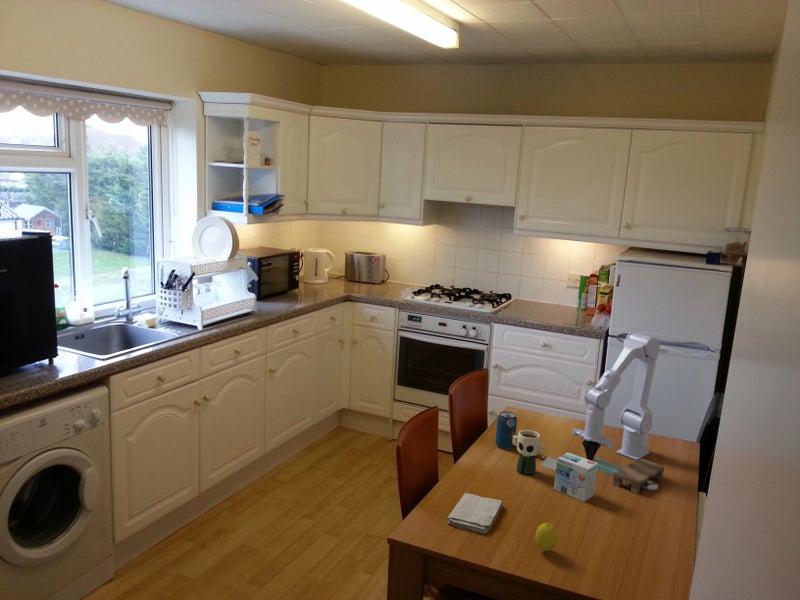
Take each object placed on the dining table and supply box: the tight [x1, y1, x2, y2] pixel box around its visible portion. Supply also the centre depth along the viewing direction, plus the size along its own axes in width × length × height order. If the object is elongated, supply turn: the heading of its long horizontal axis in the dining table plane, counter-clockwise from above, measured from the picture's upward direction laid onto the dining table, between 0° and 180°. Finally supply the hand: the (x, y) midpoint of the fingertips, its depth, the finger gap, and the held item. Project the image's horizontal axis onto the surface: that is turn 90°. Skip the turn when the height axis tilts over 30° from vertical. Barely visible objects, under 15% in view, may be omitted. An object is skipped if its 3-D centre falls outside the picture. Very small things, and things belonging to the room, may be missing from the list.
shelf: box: [612, 457, 665, 495], centre depth 212 cm, size 18×8×4 cm, turn 134°
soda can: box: [495, 410, 518, 450], centre depth 234 cm, size 7×7×12 cm
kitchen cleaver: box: [535, 453, 557, 471], centre depth 222 cm, size 24×1×10 cm
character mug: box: [513, 429, 546, 475], centre depth 214 cm, size 11×7×13 cm, turn 59°
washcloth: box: [447, 492, 503, 534], centre depth 185 cm, size 12×18×3 cm, turn 159°
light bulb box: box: [553, 451, 598, 503], centre depth 202 cm, size 11×7×11 cm, turn 47°
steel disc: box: [640, 479, 659, 492], centre depth 209 cm, size 5×5×1 cm
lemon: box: [534, 522, 558, 553], centre depth 169 cm, size 6×6×8 cm
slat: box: [592, 457, 632, 484], centre depth 217 cm, size 6×18×2 cm, turn 44°
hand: (589, 461), depth 224 cm, fingers closed
